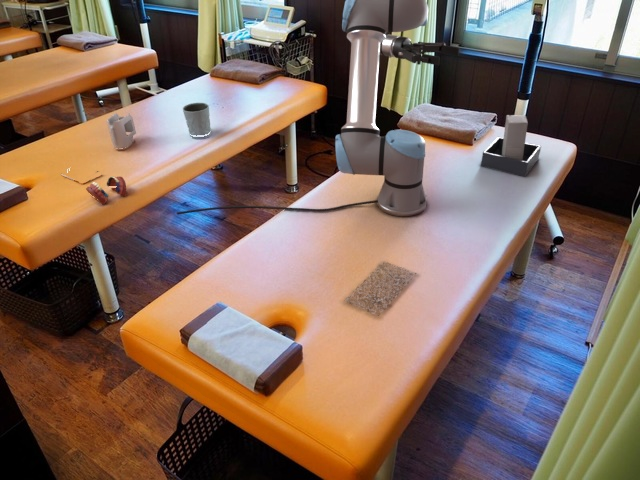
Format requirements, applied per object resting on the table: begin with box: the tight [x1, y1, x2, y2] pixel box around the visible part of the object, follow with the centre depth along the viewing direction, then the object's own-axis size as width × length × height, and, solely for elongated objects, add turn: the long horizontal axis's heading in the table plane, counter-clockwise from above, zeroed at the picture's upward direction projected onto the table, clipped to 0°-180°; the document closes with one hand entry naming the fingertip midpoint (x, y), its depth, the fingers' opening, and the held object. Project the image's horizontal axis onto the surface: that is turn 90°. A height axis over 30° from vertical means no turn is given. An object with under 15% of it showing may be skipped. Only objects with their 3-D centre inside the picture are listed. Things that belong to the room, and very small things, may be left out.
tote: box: [480, 136, 542, 178], centre depth 189 cm, size 16×16×5 cm
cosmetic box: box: [501, 114, 529, 160], centre depth 186 cm, size 8×7×16 cm
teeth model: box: [85, 176, 127, 205], centre depth 176 cm, size 8×6×12 cm
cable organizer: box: [106, 112, 137, 151], centre depth 208 cm, size 7×12×12 cm, turn 169°
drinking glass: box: [182, 102, 212, 140], centre depth 214 cm, size 10×10×12 cm
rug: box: [344, 260, 417, 317], centre depth 134 cm, size 10×20×1 cm, turn 145°
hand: (449, 56), depth 183 cm, fingers open, 13 cm apart
